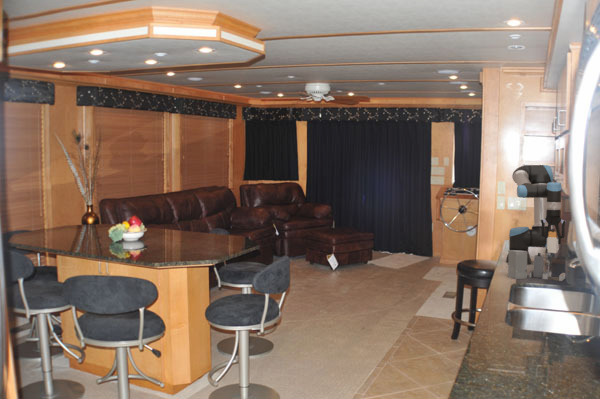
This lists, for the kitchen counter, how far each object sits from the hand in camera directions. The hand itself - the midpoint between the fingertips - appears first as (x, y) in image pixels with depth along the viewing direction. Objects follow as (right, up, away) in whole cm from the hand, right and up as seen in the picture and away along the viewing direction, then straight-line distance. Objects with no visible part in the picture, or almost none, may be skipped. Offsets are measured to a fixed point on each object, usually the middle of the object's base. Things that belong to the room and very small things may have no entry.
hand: (552, 249), depth 308 cm
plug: (0, -2, 0) cm, 2 cm away
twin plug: (-11, -15, -8) cm, 20 cm away
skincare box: (-24, -16, -8) cm, 30 cm away
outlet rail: (-8, -16, -10) cm, 20 cm away
